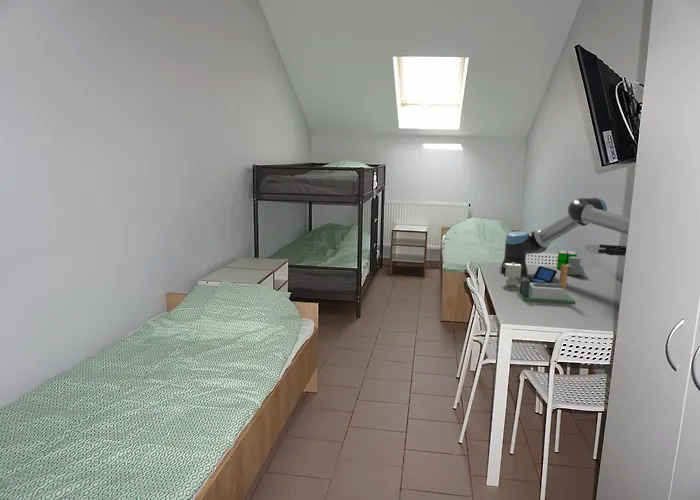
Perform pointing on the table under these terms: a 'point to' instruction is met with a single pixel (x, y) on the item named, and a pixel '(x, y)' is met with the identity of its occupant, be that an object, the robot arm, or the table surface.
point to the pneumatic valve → (512, 272)
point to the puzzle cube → (564, 257)
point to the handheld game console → (543, 275)
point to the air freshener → (574, 266)
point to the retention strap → (562, 279)
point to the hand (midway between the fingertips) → (588, 248)
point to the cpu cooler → (543, 293)
